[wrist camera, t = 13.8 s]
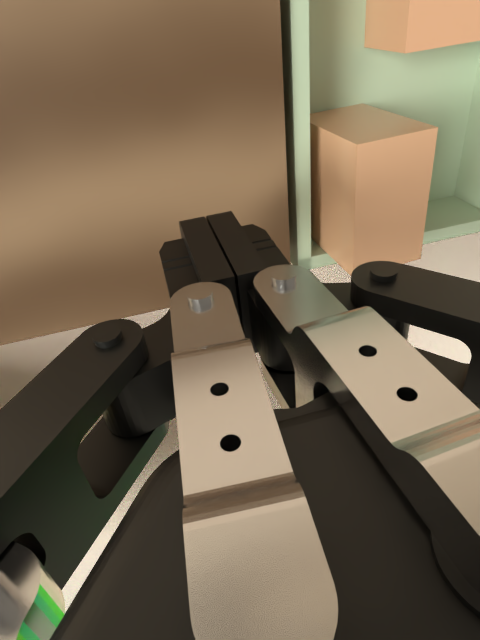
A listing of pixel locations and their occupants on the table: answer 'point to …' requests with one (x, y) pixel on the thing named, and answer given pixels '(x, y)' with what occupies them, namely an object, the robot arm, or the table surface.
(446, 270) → the table surface
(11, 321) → the sliding lid box
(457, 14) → the tile
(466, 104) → the tray
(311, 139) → the tile
